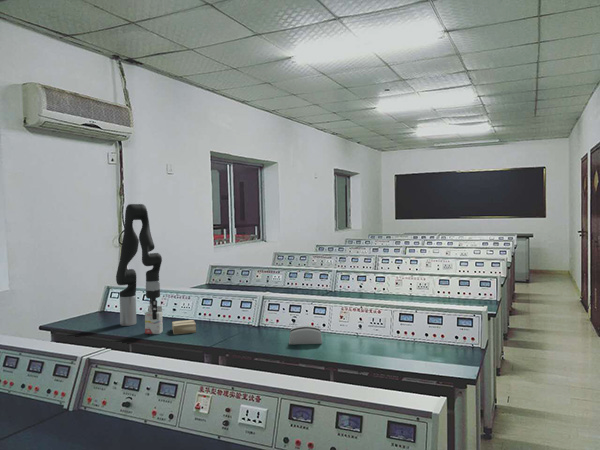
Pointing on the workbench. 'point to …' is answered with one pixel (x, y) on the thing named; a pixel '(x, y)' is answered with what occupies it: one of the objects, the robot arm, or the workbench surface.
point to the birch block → (184, 327)
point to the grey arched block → (305, 335)
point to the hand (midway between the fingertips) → (153, 318)
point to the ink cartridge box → (153, 321)
